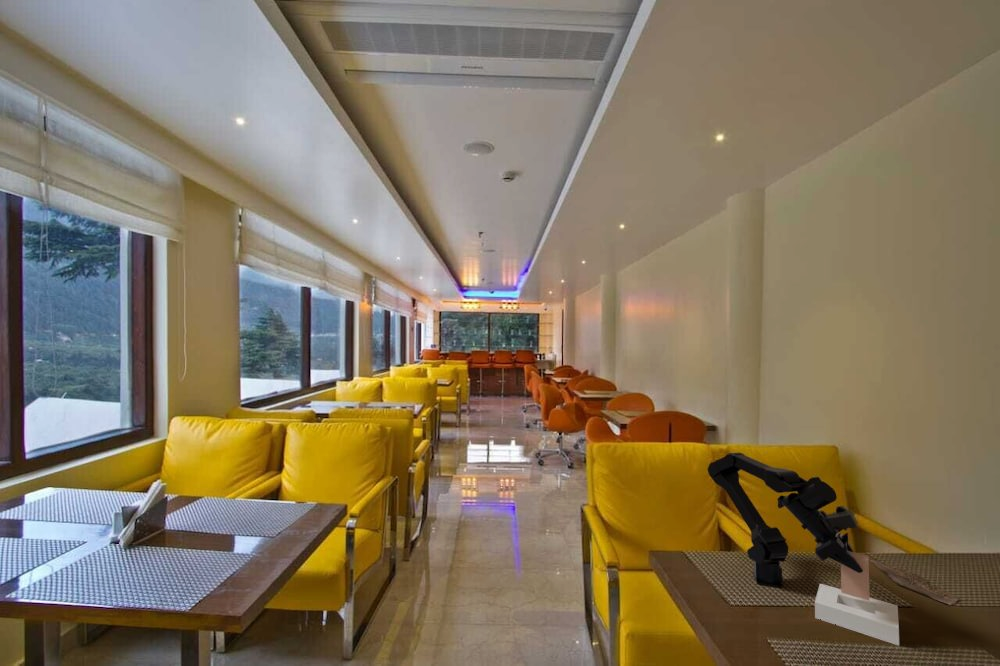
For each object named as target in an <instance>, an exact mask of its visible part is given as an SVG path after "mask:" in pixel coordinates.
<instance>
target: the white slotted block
mask: <svg viewBox="0 0 1000 666" xmlns="http://www.w3.org/2000/svg"><path fill="white" fill-rule="evenodd" d="M817 589H818V590H817V593H816V596H815V599H814V618H815V619H817V620H820V619H821V620H820V621H823V622H826V623H829V624H832V625H835V624H836V625H835V626H838V627H840V628H845V629H847V630H851V631H854V632H857V633H860V634H862V635H866V636H868V637H870V638H874V639H877V640H881V641H883V642H886V643H890V644H893V645H895V646H900V628H899V627H900V626H899V608H898V605H897V604H893V603H890V602H886V601H883V600H879V599H876V598H873V597H869V601H868V600H865V599H862V598H858V597H855V596H851V595H848V594H845V593H841V588H837V587H834V586H830V585H827V584H823V583H819V586H818V588H817Z"/></svg>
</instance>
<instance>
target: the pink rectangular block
mask: <svg viewBox="0 0 1000 666" xmlns="http://www.w3.org/2000/svg"><path fill="white" fill-rule="evenodd" d="M848 552H849V553H850V554H851V555H852V557H853V558H854V559H855V561H856V562H857V563H858V564H859V566H860V567H861V568H862V570H863V572H861V573H858V572H856V571H854V570H852V569H851V568H849V567H847V566H845V565H843V564H841V563H840V583H841V584H840V587H841V588H840V589H841V593H845V594H848V595H851V596H855V597H858V598H862V599H865V600H868V601H869V598H871V597H870V596H871V595H870V564H869V563H870V562H869V561H870V558H869V557H870V556H869V555H867V554H862V553H858V552H855V551H854V552H851V551H848Z"/></svg>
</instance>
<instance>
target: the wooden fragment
mask: <svg viewBox="0 0 1000 666" xmlns="http://www.w3.org/2000/svg"><path fill="white" fill-rule="evenodd" d="M869 561H870V562H871V563H872V564H873V565H875V566H876V567H877V568H878V569H879V570H881V571H882V572H883V573H885V574H886V575H887V576H888V577H889V578H890V579H892V581H894V583H896V584H897V585H898V586H902V587H904V588H907V589H910V590H912V591H914V592H917V593H918V594H921V595H924V596H926V597H929V598H930V599H933V600H936V601H939V602H942V603H944V604H947V605H949V607H952V606H951V605H953V606H955V605H954V604H956V602H957V603H959V602H960V598H959V597H958V596H955V595H953V594H952V593H950V592H948V591H944V590H942V588H940V587H938V586H934V585H932V584H931V582H929V580H928V579H927V578H925V577H923V576H921V575H918V574H915V573H912V572H910V571H909V570H907V569H903V568H902V567H899V566H897V565H891V564H886V563H883V562H882V561H878V560H873V559H869ZM958 598H959V599H958ZM958 601H959V602H958ZM956 605H957V604H956Z"/></svg>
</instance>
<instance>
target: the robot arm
mask: <svg viewBox="0 0 1000 666" xmlns="http://www.w3.org/2000/svg"><path fill="white" fill-rule="evenodd" d="M708 464H709V465H708V466H707V472H708V475H709V477H710V478H711V480H712V481H713V482H714V483H715V484H716V485H718V486H719V487H721V488H722V489H723V490H725V492H726V493H727V495H728V497H729V498H730V500H731V502H732V504H733V505H734V507H735V508H736V509H737V511H738V512H739V514H740V516H741V518H742V520H743V521H744V522H745V524H746V525H747V528H748V529H749V531H750V539H751V543H752V546H751V547H749V548H748V549H746V552H747V556H748V558H749V559H750V560H752V561H753V572H752V575H753V579H754V580H755V582H756V584H757V585H763V586H768V587H776V588H783V585H782V584H783V568H782V567H781V563H782V562H783V563H784V562H785V560H786V558H787V557H788V555H789V545H788V544H787V539H786V538H785V537H784V535H782V533H781V531H780V529H779V528H778V527H776V526H773V527H771V526H769V525H768V524H767V523H766V521H765V520H764V519H763V517H762V516H761V514H760V513H759V511H758V510H757V507H755V505H754V504H753V502H752V500H751V499H750V498H749V497H750V496H748V494H747V493H746V491H745V489H744V488H743V487H742V485H741V484H740V475H739V472H740V471H743V472H745V473H748V474H749V475H751V476H754V477H756V478H758V479H760V480H762V481H763V482H764V483H765V486H766V487H768V488H769V489H771V490H772V491H773V492H775V493H778V494H781V495H779V496H778V497H777V507H778V509H782V508H784V507H785V508H786V509H787V510H788V511H789V512H790V513H791V514H792V516H794V517H795V518H796V520H797V521H799V522H800V523H801V526H800V527H801V528H802V529H803V530H808V532H809V533H810V534H811V535H812V536H813V537H814V541H815V543H816V546H815V548H814V549H815V550H814V551H815V555H816V556H817V557H818V558H819V560H820V561H821V562H823V561H826V560H827V559H830V560H833V561H835V562H837V563H839V564H840V565H841V564H843V565H845V566H847V567H849V568H851V569H852V570H854V571H856V572H858V573H861V572H863V570H862V568H861V567H860V566H859V564H858V563H857V562H856V561H855V559H854V558H853V557H852V555H851V554H850V553H849V552H848V551H851V552H855V550H854V549H853V547H852V546H851V544H850V542H849V540H850V539H849V536H850V535H849V534H850V533H849V532H846V533H845V534H842V533H841V532H842V530H843V531H847V530H848V529H856V528H857V527H858V521H857V518H856V517H855V516H854V515H855V514H854V512H852V510H851V509H848V508H846V507H845V506H843V505H840V506H839V505H838V506H836V508H835V511H833V512H832V513H829V514H828V513H826V511H825V510H822V508H824V507H826V506H828V505H831V504H832V503H834V502H836V500H837V497H838V496H837V493H836V491H835V488H833V487H831V486H830V485H829V484H828V483H826V482H825V481H823V480H821V478H820V477H819V476H814V477H810V478H809V479H808V480H806V479H804V478H803V477H801V476H800V475H799V474H798V473H797V471H794V470H790V469H787V468H781V467H780V468H779V467H773V466H771V465H768V464H765V463H763V462H761V461H759V460H757V459H754V458H753V457H749V456H747V455H745V454H744V453H742V452H730V453H727V454H725V456H724V457H723V456H722V457H721V458H719V459H717V460H715V461H713V462H712V461H711V462H710V463H708ZM782 493H783V494H785V493H789V494H788V495H782ZM820 509H821V510H820ZM780 562H781V563H780Z"/></svg>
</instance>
